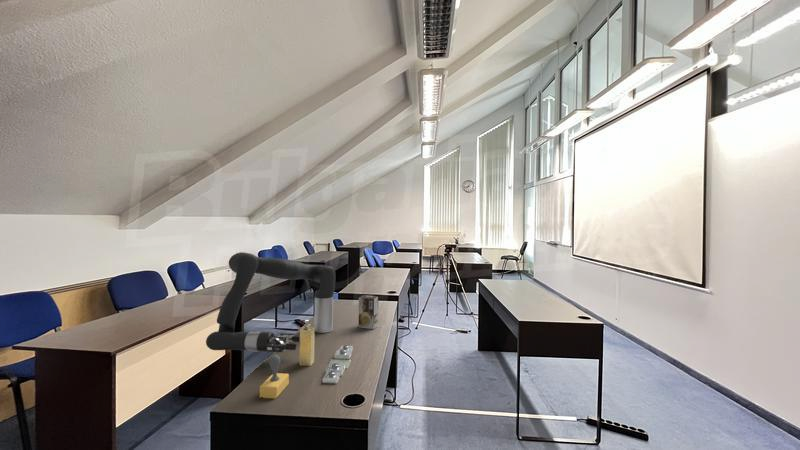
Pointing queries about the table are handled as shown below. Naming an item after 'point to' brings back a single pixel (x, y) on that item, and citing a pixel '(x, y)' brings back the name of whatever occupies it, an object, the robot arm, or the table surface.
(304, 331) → the tall studded toy brick
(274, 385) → the yellow handled block
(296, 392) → the table surface
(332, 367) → the studded plate chain
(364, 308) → the coffee box
